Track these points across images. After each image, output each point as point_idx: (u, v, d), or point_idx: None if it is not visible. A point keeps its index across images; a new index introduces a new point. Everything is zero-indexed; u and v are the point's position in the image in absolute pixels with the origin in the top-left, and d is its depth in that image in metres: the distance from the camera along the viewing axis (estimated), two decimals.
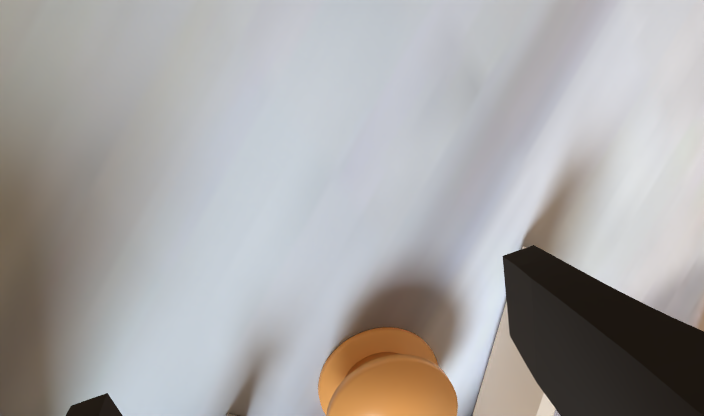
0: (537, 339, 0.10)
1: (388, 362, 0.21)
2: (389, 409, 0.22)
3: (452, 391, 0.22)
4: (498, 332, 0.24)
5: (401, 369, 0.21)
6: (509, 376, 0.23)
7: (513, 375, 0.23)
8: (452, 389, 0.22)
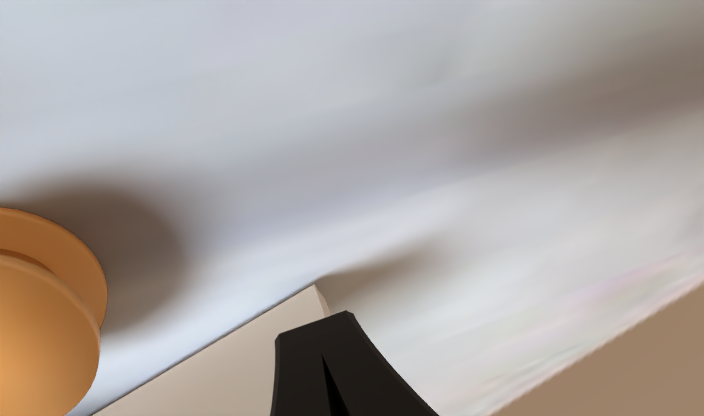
0: (341, 411, 0.10)
1: (42, 280, 0.12)
2: None
3: (87, 383, 0.14)
4: (199, 355, 0.17)
5: (51, 304, 0.12)
6: (169, 415, 0.15)
7: None
8: (90, 381, 0.14)
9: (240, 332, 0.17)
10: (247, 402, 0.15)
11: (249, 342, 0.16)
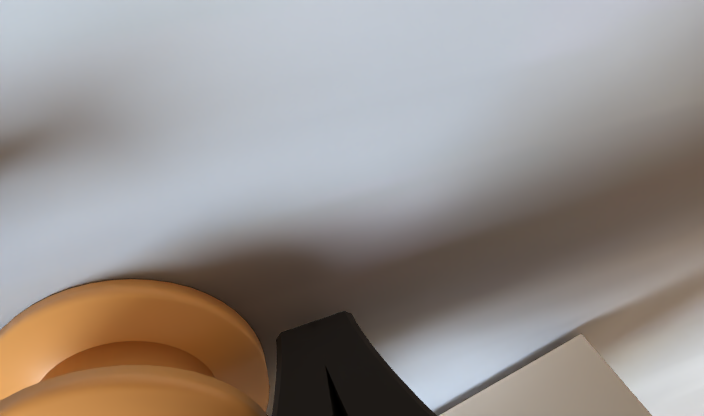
0: None
1: (227, 402, 0.09)
2: None
3: None
4: None
5: None
6: None
7: None
8: None
9: (490, 394, 0.13)
10: None
11: (510, 410, 0.13)
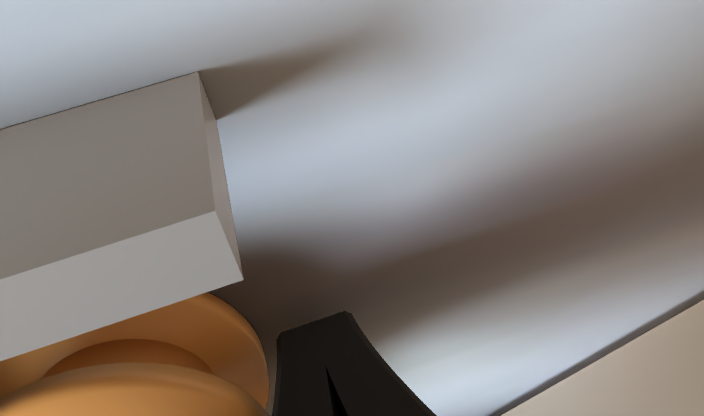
0: None
1: (228, 400, 0.09)
2: None
3: None
4: (618, 354, 0.14)
5: None
6: None
7: None
8: None
9: (672, 326, 0.14)
10: None
11: (698, 338, 0.13)
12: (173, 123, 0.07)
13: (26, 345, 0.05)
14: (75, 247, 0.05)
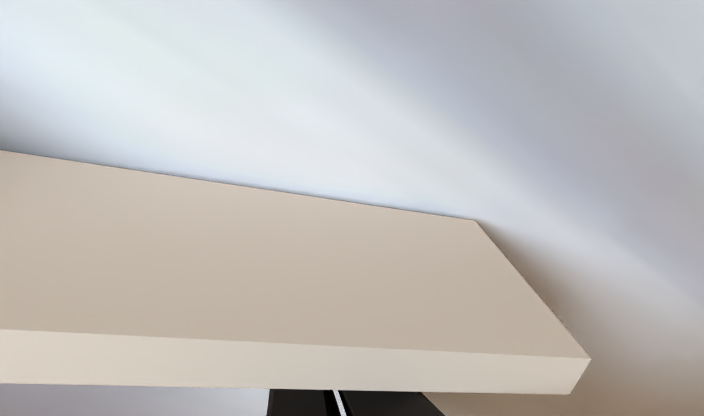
0: (345, 410, 0.10)
1: None
2: None
3: None
4: (288, 196, 0.10)
5: None
6: (237, 238, 0.08)
7: (254, 248, 0.08)
8: None
9: (363, 209, 0.10)
10: (405, 297, 0.08)
11: (383, 227, 0.10)
12: None
13: None
14: None
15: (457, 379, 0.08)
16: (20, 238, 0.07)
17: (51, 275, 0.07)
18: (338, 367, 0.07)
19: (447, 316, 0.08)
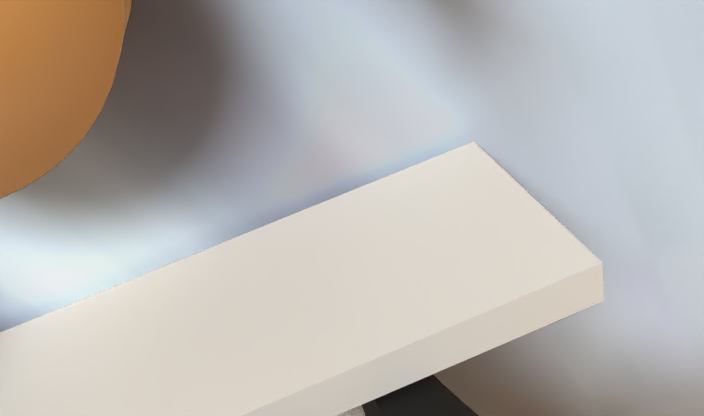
0: None
1: None
2: None
3: None
4: (277, 225, 0.10)
5: (81, 82, 0.06)
6: (230, 302, 0.09)
7: (245, 306, 0.09)
8: None
9: (350, 197, 0.10)
10: (390, 287, 0.08)
11: (371, 209, 0.10)
12: None
13: None
14: None
15: (463, 347, 0.08)
16: (60, 398, 0.08)
17: None
18: (335, 394, 0.07)
19: (433, 289, 0.08)
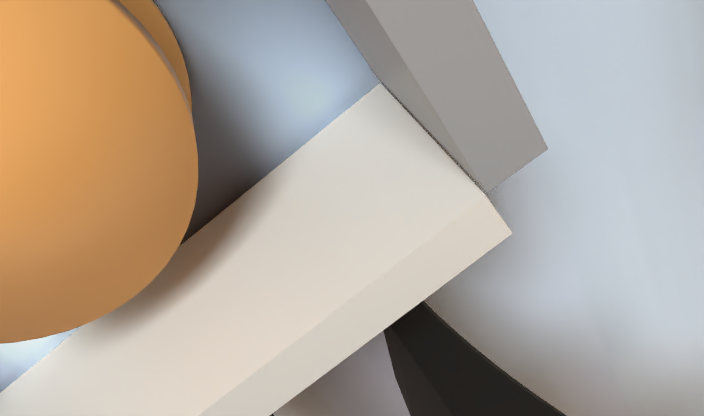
0: (407, 387, 0.10)
1: None
2: (17, 172, 0.07)
3: None
4: (204, 231, 0.10)
5: (153, 244, 0.08)
6: (159, 326, 0.09)
7: (170, 327, 0.09)
8: (2, 340, 0.08)
9: (266, 181, 0.10)
10: (288, 276, 0.08)
11: (282, 190, 0.09)
12: None
13: (390, 40, 0.05)
14: None
15: (365, 326, 0.07)
16: None
17: None
18: (245, 405, 0.07)
19: (325, 269, 0.07)
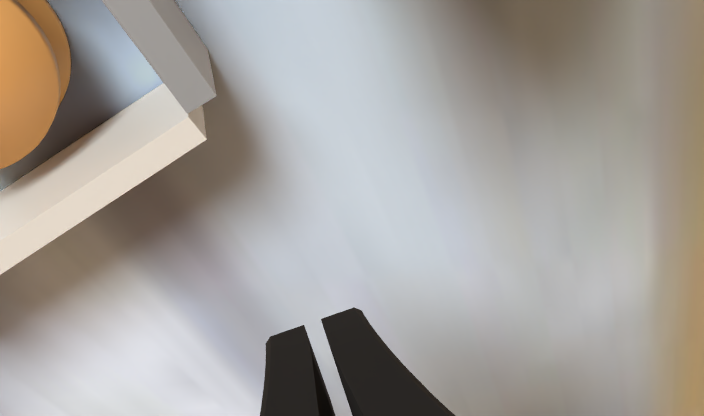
0: (350, 408, 0.10)
1: None
2: None
3: None
4: (75, 142, 0.17)
5: (32, 131, 0.15)
6: (37, 185, 0.16)
7: (42, 185, 0.16)
8: None
9: (114, 117, 0.17)
10: (103, 156, 0.15)
11: (119, 121, 0.16)
12: (202, 54, 0.15)
13: (130, 36, 0.13)
14: (183, 48, 0.13)
15: (131, 177, 0.14)
16: None
17: None
18: (67, 212, 0.14)
19: (118, 151, 0.14)
